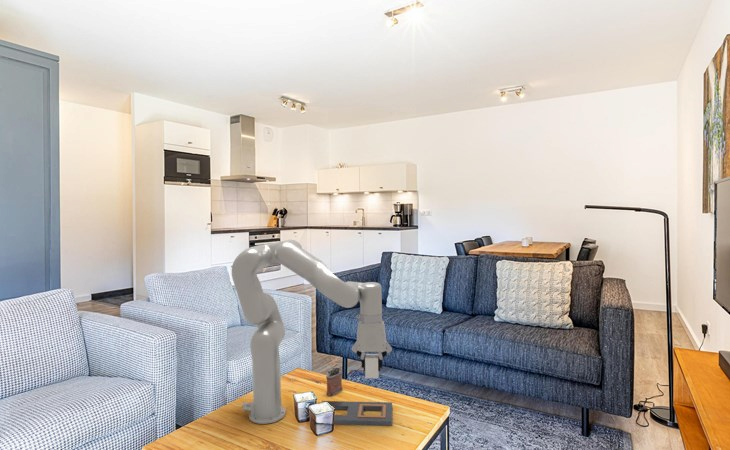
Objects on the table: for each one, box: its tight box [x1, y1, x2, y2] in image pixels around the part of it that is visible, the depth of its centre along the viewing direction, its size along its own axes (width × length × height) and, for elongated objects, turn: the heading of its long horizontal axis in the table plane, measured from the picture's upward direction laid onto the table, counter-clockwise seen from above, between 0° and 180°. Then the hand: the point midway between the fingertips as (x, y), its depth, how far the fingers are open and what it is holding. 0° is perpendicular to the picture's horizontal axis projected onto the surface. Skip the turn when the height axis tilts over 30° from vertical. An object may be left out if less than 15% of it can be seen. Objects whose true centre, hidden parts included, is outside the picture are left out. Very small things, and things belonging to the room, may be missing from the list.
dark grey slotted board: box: [321, 400, 393, 427], centre depth 147 cm, size 26×14×2 cm, turn 86°
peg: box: [364, 353, 380, 379], centre depth 146 cm, size 4×4×7 cm
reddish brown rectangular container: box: [325, 365, 343, 397], centre depth 165 cm, size 8×3×10 cm, turn 144°
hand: (372, 369), depth 146 cm, fingers closed on peg, 4 cm apart
